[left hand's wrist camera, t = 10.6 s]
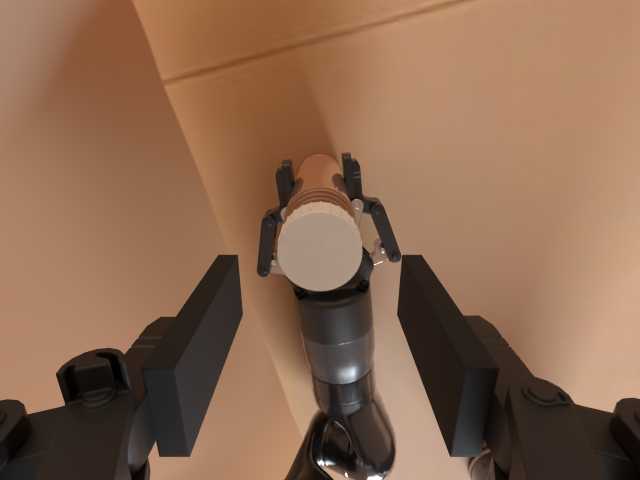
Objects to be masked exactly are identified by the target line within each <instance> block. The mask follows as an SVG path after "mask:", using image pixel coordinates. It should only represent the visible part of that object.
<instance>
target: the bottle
mask: <svg viewBox="0 0 640 480" xmlns="http://www.w3.org/2000/svg"><path fill="white" fill-rule="evenodd" d="M320 201H322V202H326V203H331V204H334V205H336V206H340V208H342V209H343V210H345V211H347V212H348V214H349V215H350V216H351V218H352V217H353V219H354V222H355V224H356V216H355V211H354V208H353V205H352V202H351V199H350V196H349V193H348V190H347V187H346V184H345V181H344V178H343V175H342V172H341V169H340V167H339V165H338V163H337V162H336V160H335V159H333V158H332V157H330V156H328V155H326V154H314V155H311V156H309V157H308V158H306V159H305V160H304V161H303V163H302V164H301V166H300V169H299V172H298V175H297V178H296V181H295V184H294V187H293V190H292V193H291V195H290V198H289V201H288V204H287V207H286V210H285V214H284V224H285V222H286V220H287V217H288V216H290V215H291V214H292V213H293V211H294V210H296V209H298V208H299V207H301V206H302V205H306V204H309V203H311V202H312V203H313V202H320Z"/></svg>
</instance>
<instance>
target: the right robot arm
mask: <svg viewBox="0 0 640 480" xmlns="http://www.w3.org/2000/svg"><path fill="white" fill-rule="evenodd" d="M342 165H343V175H344V181H345V184H346V187H347V190H348V193H349V196H350V199H351V202H352V205H353V208H354V211H355V216H356V225H357V226H358V230H359V223H360V219H361V215H362V213H366V214H371V216H372V219H373V221H374V224H375V227H376V229H377V232H378V235H379V237H380V238H378V239H376V240H375V242H374V250H373V252H372V253H369V252H368V251H367V250H366V249H365V248H364V247H363V246H362V259H361V263H360V266H359V268H358V270H357V272H356V273H355V274H354V276H353V277H352V278H351V279H350V280H349V281H348V282H346V283H345V284H343V285H342V286H340V287H338V288H335V289H332V290H327V291H313V290H308V289H305V288H302V287H300V286H298V285H296V284H295V283H293V282H292V281H291V280H290V279H289V278H288V277H287V276H286V278H287V279H288V280H289V282H290V283H291V284H292V286H293V290H294V296H295V302H296V308H297V314H298V320H299V326H300V332H301V338H302V344H303V349H304V353H305V357H306V359H307V362H308V366H309V372H310V378H311V384H312V390H313V395H314V399H315V402H316V404H317V406H318V408H319V410H317V412H316V413H315V414H314V415H313V417H312V419H311V421H310V423H309V426H308V428H307V431H306V434H305V437H304V439H303V442H302V444H301V447H300V449H299V451H298V453H297V456H296V458H295V460H294V462H293V464H292V467H291V469H290V471H289V473H288V475H287V476H286V478H285V479H284V480H333V479H332V478H331V476H330V475H329V474H328V473H326V472H325V471H324V470H325V469H326V468H328V469H330V470H332V471H334V472H336V473H338V474H340V475H342V476H344V477H346V478H347V479H349V480H387V479H388V478H389V477H390V475H391V473H392V471H393V469H394V466H395V462H396V454H397V446H396V437H395V432H394V429H393V426H392V423H391V420H390V418H389V415H388V413H387V411H386V408H385V406H384V404H383V401H382V399H381V396H380V394H379V392H378V390H377V388H376V382H375V369H374V343H375V342H374V328H373V315H372V303H371V291H370V275H371V273H372V271H373V268H374V265H376V264H379V263H382V262H385V261H387V260H389V261H390V262H392V263H396V262H398V261H400V259H401V253H400V251H399V248H398V245H397V242H396V239H395V237H394V234H393V231H392V228H391V226H390V223H389V220H388V217H387V215H386V212H385V209H384V207H383V205H382V204H381V202H380V201H379V199H377V198H370V197H366V196H364V195H363V194H362V186H361V174H360V166H359V164H358V162H357V160H356V158H355V159H351V154H350V153H349V152H348V153H342ZM276 181H277V187H278V194H279V200H280V205H279V206H278V207H277V208H275V209H270V210H268V211H267V212H266V214H265V217H264V218H263V220H262V225H261V236H260V246H259V256H258V266H257V273H258V274H259V275H260V276H261V277H266V276H268V275H269V273H273V274H281V275H285V274H284V272H283V271H282V269H281V267H280V264H279V261H278V256H277V250H274V249H275V240H276V232H277V225H278V224H280V223H282V222H284V214H285V210H286V207H287V204H288V201H289V198H290V195H291V193H292V190H293V187H294V184H295V181H294V174H293V168H292V161H291V159H290V160H283V161H282V167H280V168H278V170H277V173H276ZM491 460H492V454H491V452H490V450H489V448H488V447H487V448H485V449H483V450H482V452H481V457H474V458H473V459H472V461H471V463H470V465H469V475H470V477H471V480H487V477H488V473H489V469H490V464H491Z"/></svg>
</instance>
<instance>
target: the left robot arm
mask: <svg viewBox="0 0 640 480" xmlns="http://www.w3.org/2000/svg"><path fill="white" fill-rule="evenodd" d="M242 315H243V311H242V300H241V288H240V276H239V265H238V255H218V256H217V258H216V259H215V261H214V262H213V264H212V265H211V267H210V268H209V270H208V271H207V272H206V274H205V275H204V277H203V278H202V280H201V281H200V283H199V284H198V286H197V287H196V288H195V290H194V291H193V293H192V294H191V296H190V297H189V299H188V300H187V301H186V303H185V304H184V306H183V307H182V309H181V310H180V312H179V313H178V315H177V316H176V317H160V318H159V319H157V320H156V321H154V322H153V323H151V324H150V325H148V326H147V327H146V328H145V330H144V331H143V332H142V333H141V335H140V336H139V338H138V339H137V340H136V341H135V342H134V343H133V345H132V347H131V348H129V350H128V351H127V352H126V354H125V355H124V354H123V353H122V352H121V351H120V350H117V349H112V348H104V349H96V350H92V351H89V352H85V353H83V354H81V355H79V356H77V357H74V358H72V359H71V360H70V361H68V362H67V363H65V364H64V365H63V366H62V367H61V368H60V369H59V371H58V372H57V373H56V376H57V379H58V383H59V386H60V389H61V392H62V395H63V398H64V401H65V406H62V407H58V408H54V409H50V410H45V411H41V412H36V413H32V414H27V412H26V409H25V406H24V404H23V403H21V402H20V401H18V400H9V399H7V400H2V401H0V480H149V479H150V465H149V460H148V456H149V453H150V451H151V449H152V447H153V445H154V443H155V441H156V443H157V447H158V452H159V456H160V457H190V455H191V452H192V449H193V447H194V444H195V441H196V439H197V436H198V433H199V431H200V428H201V425H202V423H203V420H204V417H205V415H206V412H207V409H208V406H209V404H210V401H211V398H212V396H213V393H214V390H215V388H216V385H217V382H218V380H219V377H220V374H221V372H222V369H223V366H224V364H225V361H226V358H227V356H228V353H229V350H230V347H231V345H232V342H233V339H234V337H235V334H236V331H237V329H238V326H239V323H240V321H241V318H242ZM397 315H398V318H399V321H400V323H401V326H402V329H403V331H404V334H405V337H406V339H407V342H408V345H409V348H410V350H411V353H412V356H413V358H414V361H415V364H416V366H417V369H418V372H419V374H420V377H421V380H422V382H423V385H424V388H425V390H426V393H427V396H428V398H429V401H430V404H431V406H432V409H433V412H434V415H435V417H436V420H437V423H438V425H439V428H440V431H441V433H442V436H443V439H444V441H445V444H446V447H447V449H448V452H449V455H450V457H481V452H482V447H483V443H484V440H485V442H486V444H487V446H488V448H489V450H490V452H491V454H492V460H491V464H490V469H489V473H488V477H487V480H640V399H637V398H625V399H621V400H620V401H619V402H617V403H616V406H615V409H614V412H613V413H610V412H606V411H602V410H597V409H593V408H589V407H584V406H580V405H577V404H575V403H574V402H573V400H572V399H571V398H570V396H569V395H568V394H567V393H566V392H564V391H563V390H562V389H561V388H560V387H558V386H556V385H554V384H552V383H550V382H549V381H546V380H543V379H540V378H537V377H534V376H533V374H532V373H531V372H530V371H529V369H528V368H527V367H526V366H525V364H524V363H523V362H522V361H521V359H520V358H519V357H518V356H517V354H516V353H515V352H514V351H513V349H512V348H511V347H509V344H508V343H507V342H506V341H505V339H504V338H502V336H501V334H500V333H499V332H498V331H497V329H496V328H495V327H494V325H492V324H491V323H489V322H488V321H486V320H485V319H483V318H482V317H480V316H463V315H462V313H461V312H460V310H459V309H458V307H457V306H456V304H455V303H454V301H453V300H452V299H451V297H450V296H449V294H448V293H447V291H446V290H445V288H444V287H443V285H442V284H441V283H440V281H439V280H438V278H437V277H436V275H435V274H434V272H433V271H432V270H431V268H430V267H429V265H428V264H427V262H426V261H425V259H424V258H423V256H422V255H402V265H401V276H400V288H399V299H398V311H397Z"/></svg>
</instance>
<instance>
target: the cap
mask: <svg viewBox="0 0 640 480" xmlns="http://www.w3.org/2000/svg"><path fill="white" fill-rule="evenodd" d="M277 243H278V248H277V256H278V261H279V264H280V267H281V269H282V271H283V272H284V274H285V275H286V276H287V277H288V278H289V279H290V280H291V281H292V282H293V283H295V284H296V285H298V286H300V287H302V288H305V289H308V290H313V291H327V290H332V289H335V288H338V287H340V286H342V285H343V284H345V283H346V282H348V281H349V280H350V279H351V278H352V277H353V276H354V274H355V273H356V272H357V270H358V268H359V266H360V263H361V259H362V241H361V238H360V233H359V230H358V226H357V225H356V224H355V222H354V219H353V217H352V218H351V216H350V215H349V214H348V212H347V211H345V210H343V209H342V208H340V206H336V205H334V204H331V203H326V202H322V201H320V202H313V203H312V202H311V203H309V204H306V205H302V206H301V207H299V208H298V209H296V210H294V211H293V213H292V214H291V215H290V216H288V217H287V220H286V222H285V224H283V226H282V229H281V232H280V236H279V239H278V242H277Z"/></svg>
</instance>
